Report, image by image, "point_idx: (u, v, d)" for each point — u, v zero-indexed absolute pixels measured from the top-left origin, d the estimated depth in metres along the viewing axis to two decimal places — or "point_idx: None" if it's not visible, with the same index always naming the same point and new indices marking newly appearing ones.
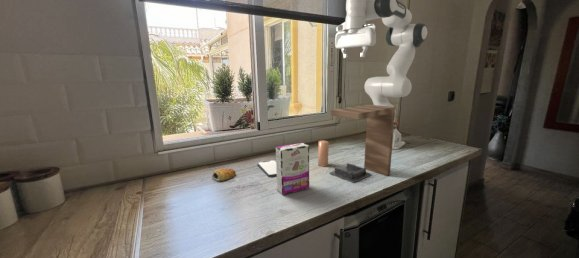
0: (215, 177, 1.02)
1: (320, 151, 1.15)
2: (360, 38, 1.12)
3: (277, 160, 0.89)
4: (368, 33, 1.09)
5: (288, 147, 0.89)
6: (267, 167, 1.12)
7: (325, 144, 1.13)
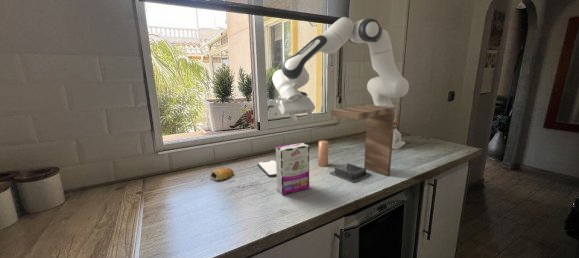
0: (213, 177, 1.02)
1: (320, 151, 1.15)
2: None
3: (277, 160, 0.89)
4: None
5: (288, 147, 0.89)
6: (267, 167, 1.12)
7: (325, 144, 1.13)
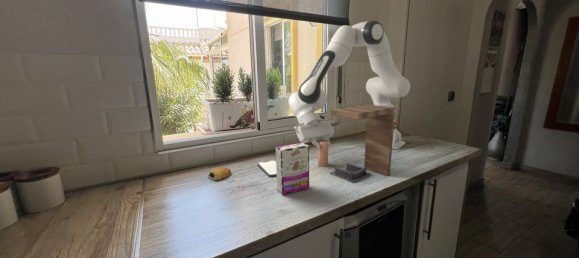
0: (211, 176, 1.03)
1: (320, 151, 1.15)
2: None
3: (277, 160, 0.89)
4: None
5: (288, 147, 0.89)
6: (267, 167, 1.12)
7: (325, 144, 1.13)
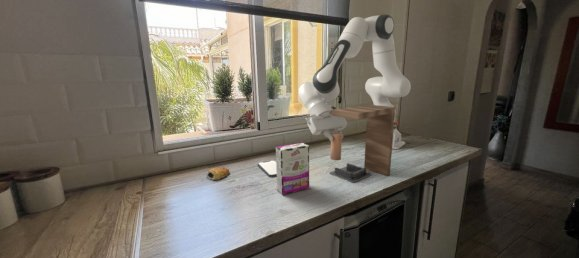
0: (210, 176, 1.03)
1: (333, 144, 1.08)
2: None
3: (277, 160, 0.89)
4: None
5: (288, 147, 0.89)
6: (267, 167, 1.12)
7: (338, 136, 1.07)
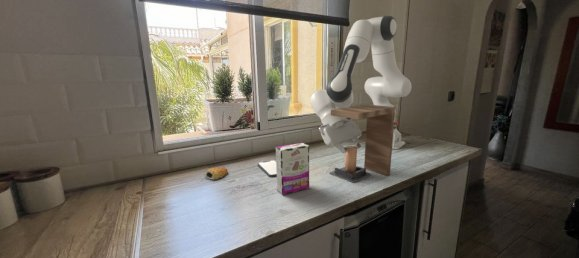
0: (209, 176, 1.03)
1: (348, 158, 1.03)
2: None
3: (277, 160, 0.89)
4: None
5: (288, 147, 0.89)
6: (267, 167, 1.12)
7: (353, 150, 1.02)
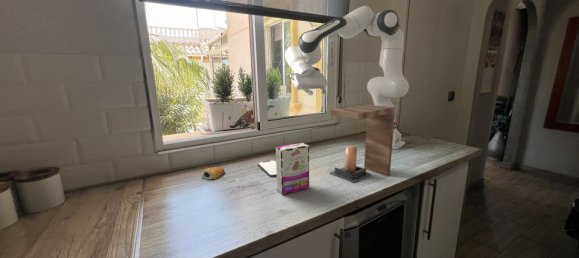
0: (206, 176, 1.03)
1: (347, 158, 1.03)
2: None
3: (277, 160, 0.89)
4: None
5: (288, 147, 0.89)
6: (268, 167, 1.12)
7: (353, 150, 1.02)
